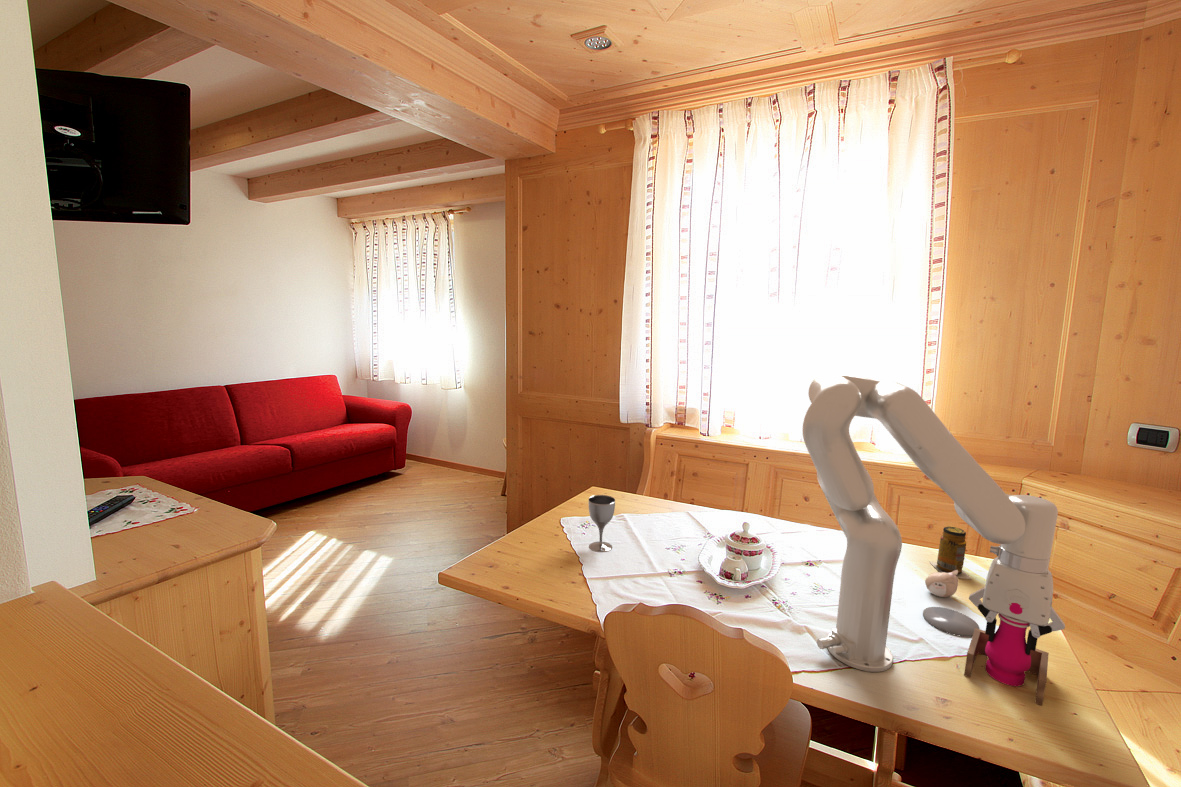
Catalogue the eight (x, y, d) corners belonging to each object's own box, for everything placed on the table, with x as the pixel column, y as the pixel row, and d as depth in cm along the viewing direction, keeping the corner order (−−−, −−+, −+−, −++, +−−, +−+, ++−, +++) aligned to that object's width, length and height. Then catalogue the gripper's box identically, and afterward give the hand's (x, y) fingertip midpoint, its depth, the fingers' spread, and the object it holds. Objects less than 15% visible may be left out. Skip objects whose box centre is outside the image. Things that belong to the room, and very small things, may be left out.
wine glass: (586, 541, 162) (587, 495, 160) (611, 540, 163) (613, 494, 161) (588, 553, 155) (590, 504, 152) (615, 552, 155) (617, 504, 153)
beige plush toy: (943, 603, 132) (947, 574, 130) (919, 591, 138) (922, 562, 136) (960, 598, 134) (964, 569, 133) (936, 586, 140) (940, 558, 139)
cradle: (963, 675, 106) (967, 652, 105) (972, 648, 114) (975, 627, 113) (1042, 706, 98) (1046, 681, 97) (1044, 675, 106) (1048, 652, 105)
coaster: (955, 640, 117) (955, 637, 117) (911, 612, 127) (912, 610, 127) (990, 632, 120) (991, 629, 120) (945, 606, 131) (946, 603, 130)
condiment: (956, 565, 152) (962, 526, 150) (972, 579, 144) (978, 538, 142) (929, 562, 154) (934, 523, 152) (942, 576, 145) (948, 535, 143)
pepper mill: (1035, 691, 101) (1053, 596, 98) (993, 685, 103) (1009, 590, 100) (1014, 666, 108) (1030, 576, 105) (975, 661, 110) (989, 572, 107)
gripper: (966, 551, 105) (954, 635, 107) (1083, 582, 93) (1066, 675, 96) (972, 540, 110) (960, 619, 113) (1082, 568, 99) (1066, 655, 102)
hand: (1009, 644), depth 105 cm, fingers closed on pepper mill, 5 cm apart
